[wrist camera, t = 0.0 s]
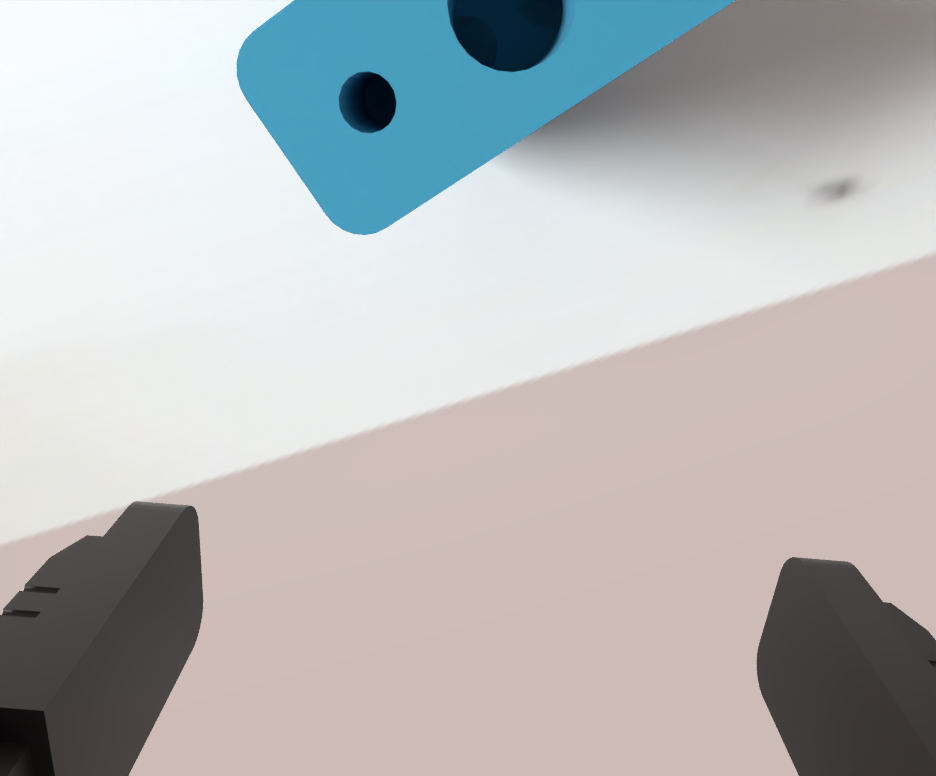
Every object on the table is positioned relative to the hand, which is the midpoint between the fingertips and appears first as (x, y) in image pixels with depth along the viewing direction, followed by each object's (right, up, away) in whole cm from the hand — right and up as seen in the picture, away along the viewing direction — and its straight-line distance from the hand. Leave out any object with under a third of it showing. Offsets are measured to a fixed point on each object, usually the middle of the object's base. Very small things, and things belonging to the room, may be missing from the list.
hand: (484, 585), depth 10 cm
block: (+1, +19, +24) cm, 31 cm away
